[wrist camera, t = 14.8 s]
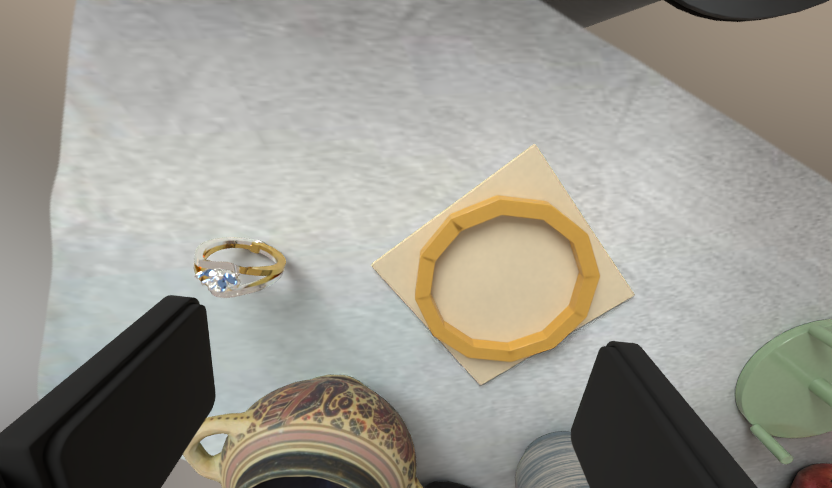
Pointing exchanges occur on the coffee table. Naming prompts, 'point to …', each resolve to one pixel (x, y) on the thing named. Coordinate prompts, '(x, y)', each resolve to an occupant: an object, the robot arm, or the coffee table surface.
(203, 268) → the ring
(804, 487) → the fruit
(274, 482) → the ceramic bowl
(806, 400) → the holder
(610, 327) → the coffee table surface
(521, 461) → the vase
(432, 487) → the gaming mouse
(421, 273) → the ring
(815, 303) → the coffee table surface
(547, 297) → the mat
